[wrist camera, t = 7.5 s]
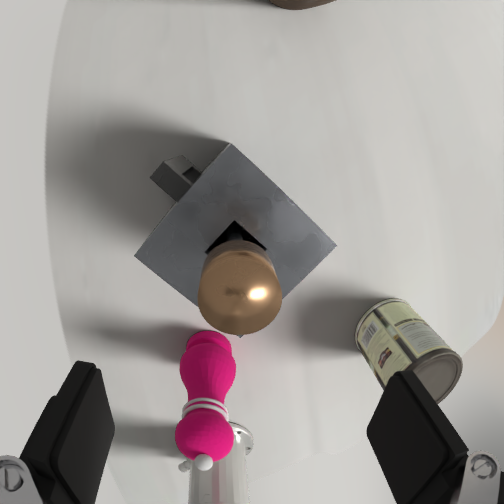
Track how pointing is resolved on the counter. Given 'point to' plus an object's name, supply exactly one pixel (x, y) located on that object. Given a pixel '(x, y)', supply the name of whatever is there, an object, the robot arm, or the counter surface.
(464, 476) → the robot arm
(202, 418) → the pepper mill
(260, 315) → the plunger
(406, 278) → the counter surface
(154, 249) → the press
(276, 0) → the plant pot
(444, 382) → the coffee can
